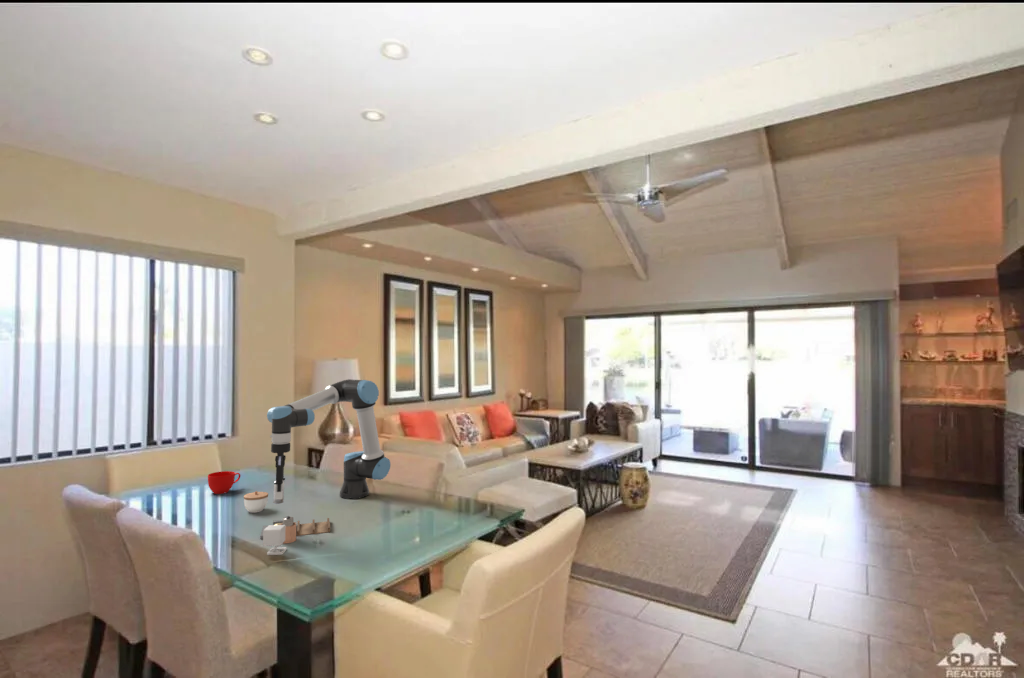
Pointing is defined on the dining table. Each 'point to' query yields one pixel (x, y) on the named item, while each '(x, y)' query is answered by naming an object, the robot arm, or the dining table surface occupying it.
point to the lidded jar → (255, 501)
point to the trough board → (313, 528)
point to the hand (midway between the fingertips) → (279, 497)
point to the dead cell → (288, 521)
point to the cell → (282, 495)
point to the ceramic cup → (221, 481)
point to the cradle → (268, 525)
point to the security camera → (274, 539)
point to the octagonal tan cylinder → (290, 533)
